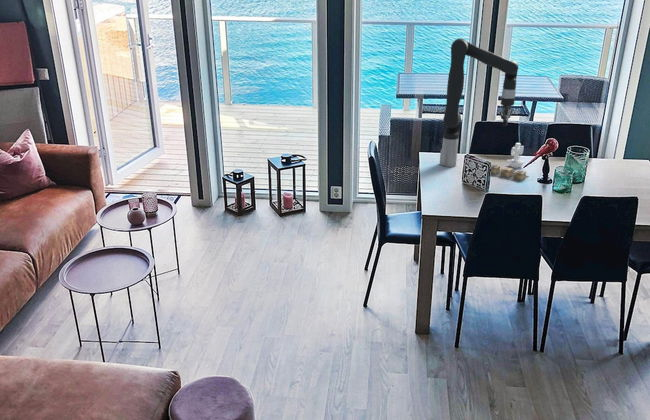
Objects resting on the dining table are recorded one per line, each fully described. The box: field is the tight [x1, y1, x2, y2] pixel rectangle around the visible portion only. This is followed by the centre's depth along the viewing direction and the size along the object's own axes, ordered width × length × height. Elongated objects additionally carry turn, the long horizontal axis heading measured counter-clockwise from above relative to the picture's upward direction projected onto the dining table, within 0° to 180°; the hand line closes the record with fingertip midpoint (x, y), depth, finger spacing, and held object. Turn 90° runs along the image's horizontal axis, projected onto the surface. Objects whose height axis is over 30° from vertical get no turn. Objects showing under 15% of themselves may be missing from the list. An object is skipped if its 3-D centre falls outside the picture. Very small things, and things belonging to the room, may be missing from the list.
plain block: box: [500, 166, 514, 177], centre depth 358 cm, size 5×5×4 cm
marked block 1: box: [490, 163, 501, 174], centre depth 362 cm, size 5×5×4 cm
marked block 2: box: [513, 169, 527, 181], centre depth 353 cm, size 5×5×4 cm
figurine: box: [507, 142, 525, 169], centre depth 371 cm, size 7×9×15 cm
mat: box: [490, 169, 530, 183], centre depth 359 cm, size 22×14×1 cm, turn 50°
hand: (504, 125), depth 359 cm, fingers closed
